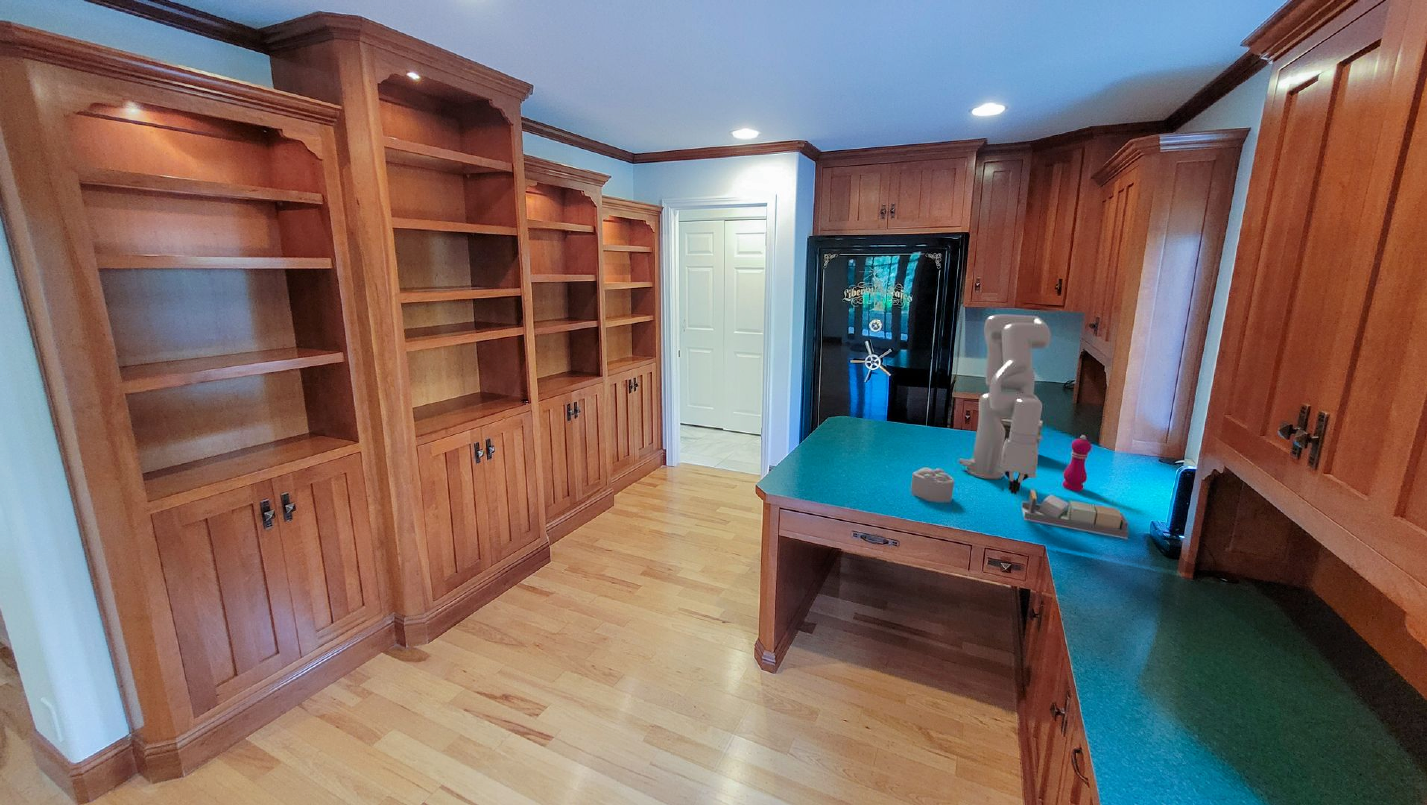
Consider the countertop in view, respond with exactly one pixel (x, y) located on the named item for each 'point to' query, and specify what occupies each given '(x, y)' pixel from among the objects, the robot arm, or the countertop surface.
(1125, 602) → the countertop surface
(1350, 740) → the countertop surface
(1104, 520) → the kraft box
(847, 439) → the countertop surface
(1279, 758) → the countertop surface
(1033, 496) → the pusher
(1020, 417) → the robot arm
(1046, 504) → the small box
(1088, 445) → the pepper mill
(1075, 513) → the sage box
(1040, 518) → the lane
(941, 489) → the lumpy-topped squat cylinder
